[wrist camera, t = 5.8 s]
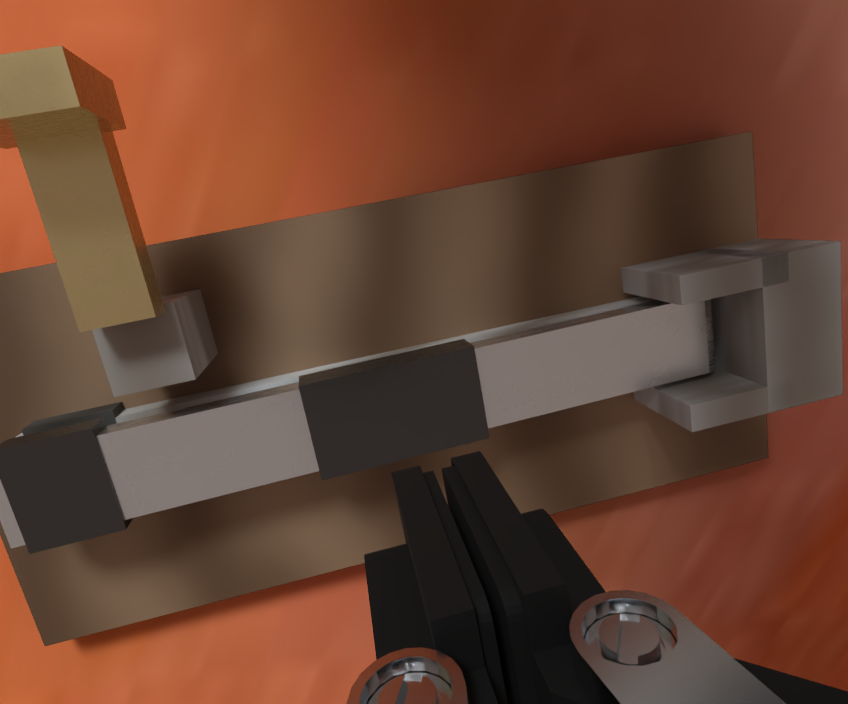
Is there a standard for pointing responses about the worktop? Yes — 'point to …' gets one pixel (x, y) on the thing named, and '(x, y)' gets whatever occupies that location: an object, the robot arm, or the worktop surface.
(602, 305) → the tong base
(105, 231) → the lock bolt
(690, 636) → the robot arm
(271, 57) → the worktop surface
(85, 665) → the worktop surface
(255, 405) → the banded silver bar
